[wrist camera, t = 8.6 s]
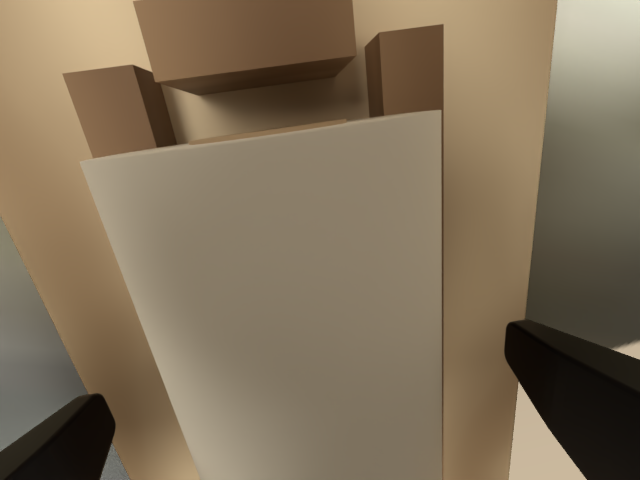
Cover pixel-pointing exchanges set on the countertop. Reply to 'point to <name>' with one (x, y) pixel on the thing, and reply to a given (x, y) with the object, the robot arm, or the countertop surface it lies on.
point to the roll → (291, 293)
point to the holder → (261, 114)
